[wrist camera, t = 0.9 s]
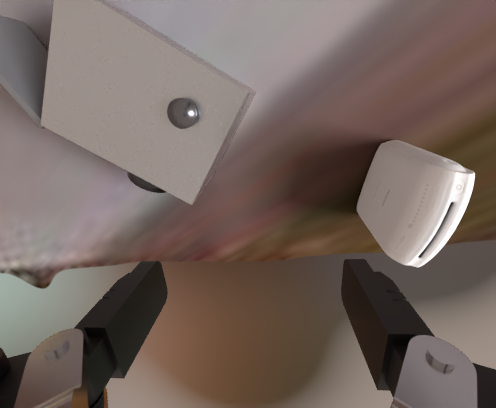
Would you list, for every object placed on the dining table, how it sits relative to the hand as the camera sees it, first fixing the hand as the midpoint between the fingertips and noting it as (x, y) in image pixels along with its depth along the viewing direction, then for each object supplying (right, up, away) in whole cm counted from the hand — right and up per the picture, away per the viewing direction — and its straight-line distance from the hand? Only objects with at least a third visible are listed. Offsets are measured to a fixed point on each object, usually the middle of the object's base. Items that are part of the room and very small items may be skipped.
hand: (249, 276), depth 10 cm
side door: (-23, +19, +18) cm, 35 cm away
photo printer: (+17, +6, +20) cm, 27 cm away
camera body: (-9, +15, +18) cm, 26 cm away
